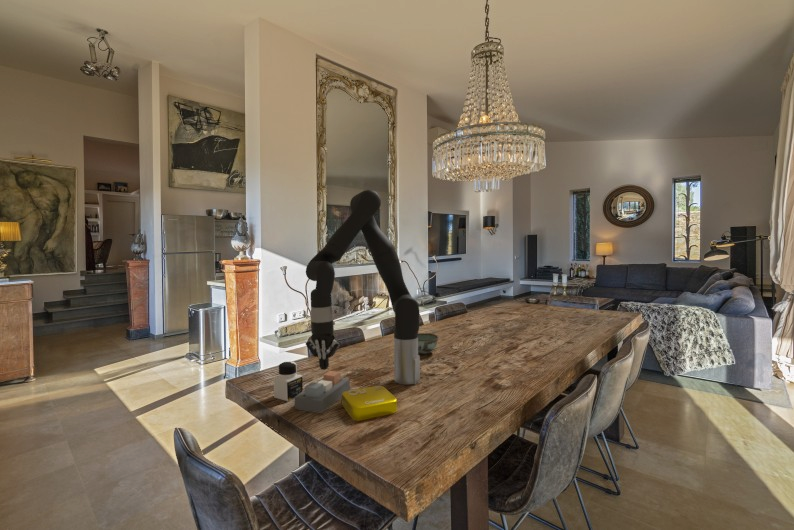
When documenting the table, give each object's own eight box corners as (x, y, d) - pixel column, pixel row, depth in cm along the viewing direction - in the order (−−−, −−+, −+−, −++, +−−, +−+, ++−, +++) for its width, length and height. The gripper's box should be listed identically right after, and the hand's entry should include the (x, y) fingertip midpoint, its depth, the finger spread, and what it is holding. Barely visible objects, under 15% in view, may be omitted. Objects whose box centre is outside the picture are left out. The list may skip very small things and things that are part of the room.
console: (349, 389, 141) (349, 379, 141) (321, 413, 123) (321, 400, 122) (325, 386, 145) (325, 376, 145) (294, 408, 126) (294, 397, 126)
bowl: (443, 351, 189) (443, 335, 188) (430, 358, 178) (430, 341, 177) (418, 347, 196) (418, 331, 196) (405, 354, 185) (404, 337, 184)
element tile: (354, 423, 117) (353, 407, 116) (340, 404, 130) (340, 390, 130) (399, 413, 123) (399, 398, 123) (381, 396, 137) (381, 383, 136)
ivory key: (332, 391, 135) (332, 381, 135) (326, 396, 131) (325, 386, 131) (321, 389, 136) (321, 380, 136) (314, 394, 132) (314, 384, 132)
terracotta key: (340, 381, 140) (340, 372, 140) (334, 385, 136) (334, 376, 136) (329, 380, 142) (329, 370, 142) (323, 384, 138) (323, 374, 138)
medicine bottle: (287, 402, 132) (286, 367, 131) (273, 397, 135) (272, 364, 134) (303, 394, 138) (302, 361, 137) (289, 390, 141) (288, 358, 141)
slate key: (323, 393, 129) (323, 383, 129) (316, 399, 125) (316, 388, 125) (312, 392, 131) (311, 382, 130) (305, 397, 126) (304, 387, 126)
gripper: (344, 317, 133) (346, 367, 134) (310, 316, 137) (313, 364, 138) (334, 322, 126) (336, 374, 127) (299, 320, 130) (301, 371, 131)
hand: (324, 368), depth 133 cm, fingers closed
